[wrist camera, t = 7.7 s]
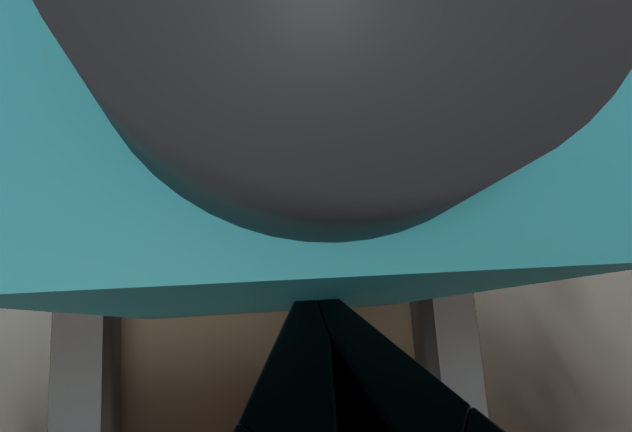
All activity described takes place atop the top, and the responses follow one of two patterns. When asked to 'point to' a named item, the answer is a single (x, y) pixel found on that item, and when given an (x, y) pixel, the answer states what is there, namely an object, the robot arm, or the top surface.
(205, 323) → the mount
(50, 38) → the teal tall block
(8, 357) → the top surface
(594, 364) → the top surface
